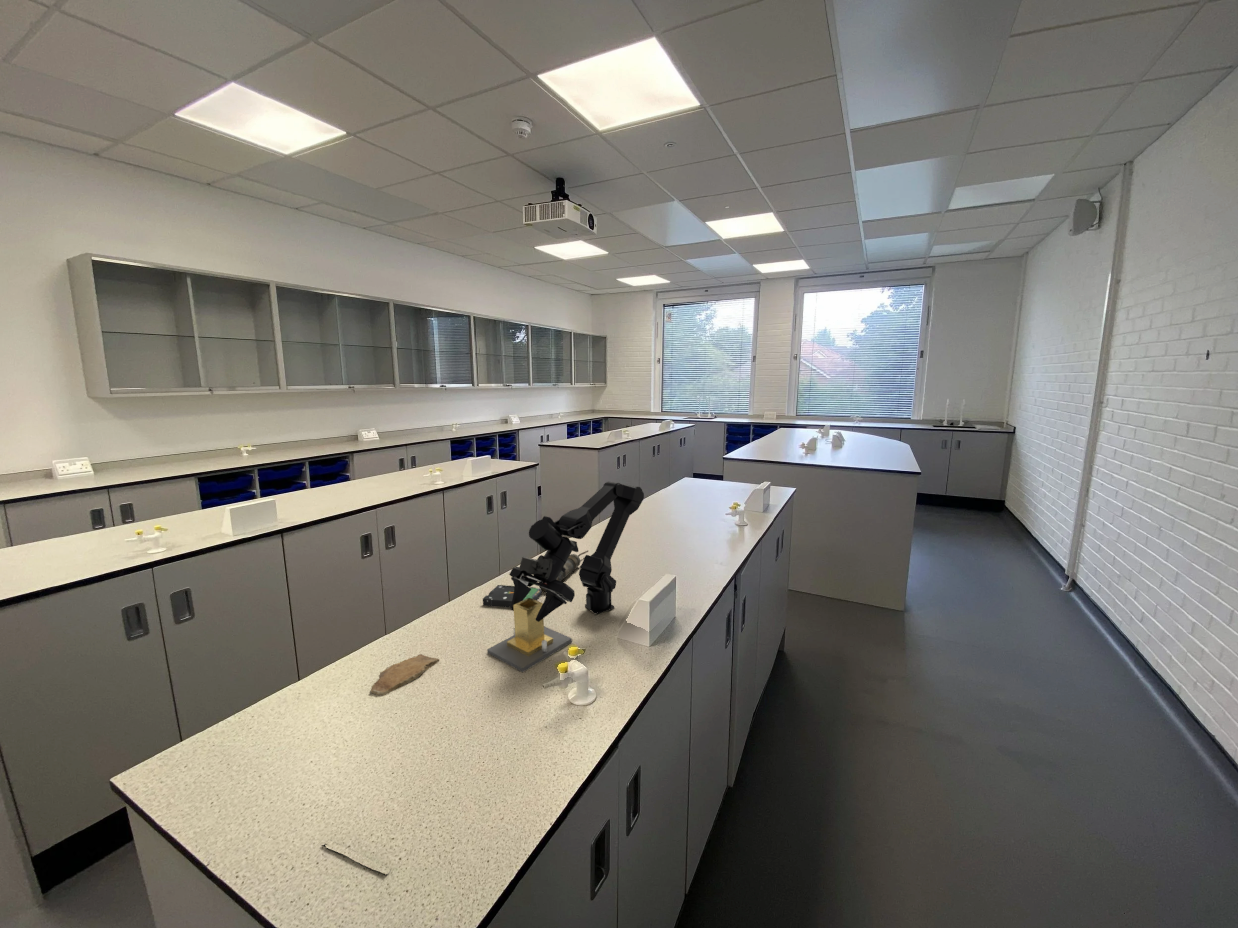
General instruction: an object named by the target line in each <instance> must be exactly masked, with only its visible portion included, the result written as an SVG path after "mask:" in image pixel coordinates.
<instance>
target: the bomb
mask: <svg viewBox="0 0 1238 928" xmlns="http://www.w3.org/2000/svg"><path fill="white" fill-rule="evenodd" d="M588 552H589V550H588V549H587V550H585V551H583V552H580V553H579V554H578V555H577V554H575V553H571V554H570V556H569V558H568V559H567V561H566V563H565V565H564V568H565V569H566V570H565V572H564V573H563V572H561V573H560V574H559V576H558V578H557V580H558V581H561V582H563V580H564V579H566V577H567V576H568V575H570V574H571V573H572V572H574V571H575V570H576V569H577V568H578V567H580V566H581V565H580V564H581V559H580V556H582V555H585V554H587V553H588ZM538 583H540V582H538ZM544 584H545V583H544ZM545 585H546V584H545ZM538 588H539V589H541V590H542V592H544V593H546V590H548V589H545V588H542V587H540V586H538ZM548 591H550V590H548Z"/></svg>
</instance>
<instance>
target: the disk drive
mask: <svg viewBox="0 0 1238 928" xmlns="http://www.w3.org/2000/svg"><path fill="white" fill-rule="evenodd" d="M528 587H529V586H528ZM529 588H530V589H531V591H530V592H529V593H528V594H527V596H526V597H525V598H524V600H525V599H527V598H531V599H534V600H536V601H538V600H539V599H540V598H541V596H542V594H543V593H542V592H543V591H542V590H541V589H540V587H532V586H531V587H529ZM513 594H514V585H507V584H506V585H504V584H497V585H495V587H494V588H493V589H491V591H490V592H489V593H488V595H485V596H484V597H483V598H482V606H484V607H497V608H506V609H507V608H509V609H511V604H512V599H513Z"/></svg>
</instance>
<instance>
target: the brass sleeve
mask: <svg viewBox="0 0 1238 928" xmlns="http://www.w3.org/2000/svg"><path fill="white" fill-rule="evenodd" d="M542 604H543V602H541V601H538V600H537V601H536V600H534V599H531V598H527V599H525V600H523V601H521V602H519V603H517V604H514V605H513V608H514V611H513V620H514V628H515V638H513V639H511V640H509V641H507V646H509V647H511V648H513V649H515V650H517V651H519V652H521V653H522V654H524V655H526V656H530V655H532V654H534V653H535V652H537V651H539V650H540V649H542V641H543V640H546V641H547V645H549V644H551V643H552V642H553V638H551V637H549V636H547V635H545V634H544V626H545V624H544V622H545V621H544V618H543V619H542V620H541V621H539V622H537V621H536V617H537V615H538V612H539V610H540V608H541V606H542Z"/></svg>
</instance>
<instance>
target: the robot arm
mask: <svg viewBox="0 0 1238 928" xmlns="http://www.w3.org/2000/svg"><path fill="white" fill-rule="evenodd" d="M644 498H645V493H644V491H643V489H642V487H641V486H635V485H628V484H622V483H621V482H615V481H606V482H605V483H604V484H603V486H602V487H601V488H599V490H598V491H597V492H595V494H594V495H592V496H591V497H590V498H589V499H587V500H586V502H584V503H583V504H582V505H581V506H580V507H578V508H574V509H571V510H569V511H567V512H566V513H564V514H563V515H561V517H559V519H557V520H555V521H554V520H553V519H552V518H551V517H550V516H546V515H544V516H543V517H542V519H539V520H537V521H536V522H534V523H533V524H532V525H530V528H529V530H528V536H529V538H530V539H531V540H532V541H533V542H535V543H536V544H537V545H538V546H539V547H540V548H542V549H543V550H545V551H546V552H545V553H544V555H542V554H541V555H539V556H538V558H537V559H535V558H532V557H526V556H525V557H524V556H522V557H521V560H520V564H519V566H514V567H513V568H511V570H510V572H509V574H508V575H509V576H510V579H511V581H512V582H513V586H514V594H513V599H512V604H511V608H510V610H511V611H513V612H514V608H513V605H514V604H517V603H519V602H521V601H523V600H524V598H525V597H526V596H527V594H528V593H529V592H530V591H531V589H530V588H529V587H532V586H534V585H535V586H536V587H539V586H540V587H542V588H545V589H548V590H550V591H548V590H546V592H545V598H544V601H543V602H542V603H543V604H542V606H541V608H540V610H539V612H538V615H537V617H536V621H537V622H539V621H541V620H542V619H544V618H546V617H547V616H548V615H550V614H551V613H552V612H553V611H555V610H556V609H558V608H559V607H560V606H562V605H567V602H568V603H572V602H573V600H574V598H575V590H574V589H573V588H572V587H571V586H569V585H568V584H567V583H566V582H564V581H558V580H557V578H558V576H559V574H560V573H561V572H563V573H564V572H565V570H566V569H565V568H564V565H565V563H566V561H567V559H568V558H569V556H570V555H571V554H572V552H575V553H578V552H579V547H578V542H577V541H575V540H571V539H570V538H573V539H576V540H581V539H583V538H585V536H586V535H587V534H588V533H589V531H590V530H591V528H592V525H593V521H595V520H594V519H596V518H597V517H598V516H599V515H600V514H601V513H602V512H604V511H605V509H606V508H608V507H609V505H610V504H612V502H613V511H612V514H611V515H610V518H609V520H608V523H607V524H606V527H605V529H604V532H603V534H602V536H601V538H600V540H599V543H597V544H598V545H597V547H596V549H595V551H594V552H593V553H592V554H590V555H588V554H586V555H584V557H583V559H582V560H583V561H582V562H581V565H579V571H578V576H579V580H580V582H581V584H582V587H585V588H586V591H587V592H586V594H585V604H584V607H585V608H587V609H588V610H589V611H590V612H591V613H593V614H594V615H598V614H602V613H605V612H608V611H611V610H613V609H615V605H613V604H612V592H613V591H614V590H615V589H616V586H617V585H616V584H617V580H616V579H615V578H614V577H613V576H611V575H612V568H613V567H612V562H611V560H612V557H613V555H614V552H615V550H616V548H617V546H618V543H619V541H620V538H621V536H622V534H623V531H624V530H625V527H626V526H627V522H628V521H629V518H630V516H632V514H634V513H635V512H637V510H639V508H640V506H641V504H642V503H643V501H644ZM539 582H540V583H539ZM544 583H545V584H546V585H545V584H544ZM540 587H539V588H540Z"/></svg>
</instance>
